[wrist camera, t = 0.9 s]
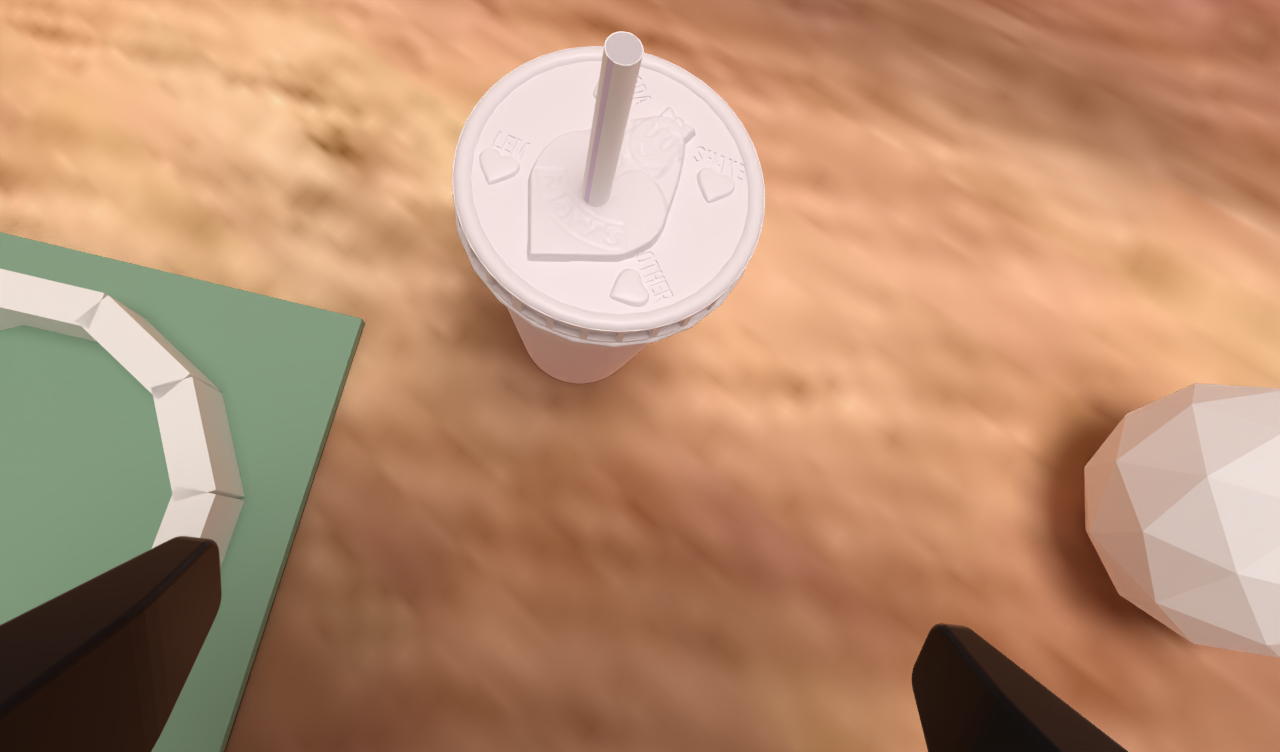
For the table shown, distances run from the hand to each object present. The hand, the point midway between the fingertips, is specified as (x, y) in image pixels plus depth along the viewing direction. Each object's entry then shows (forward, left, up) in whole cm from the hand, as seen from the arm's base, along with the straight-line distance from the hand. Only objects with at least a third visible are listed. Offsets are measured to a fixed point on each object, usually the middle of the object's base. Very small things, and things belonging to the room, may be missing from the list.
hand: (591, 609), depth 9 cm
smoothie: (+8, +1, -13) cm, 16 cm away
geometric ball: (+6, -19, -13) cm, 24 cm away
